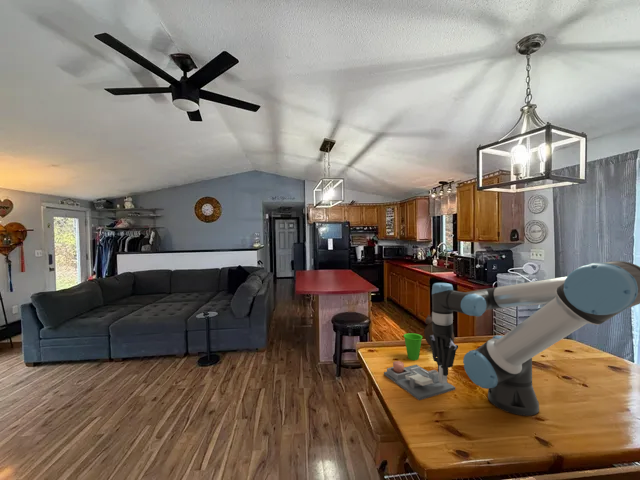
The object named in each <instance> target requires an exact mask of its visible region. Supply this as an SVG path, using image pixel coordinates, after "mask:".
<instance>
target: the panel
mask: <svg viewBox="0 0 640 480" xmlns="http://www.w3.org/2000/svg"><path fill="white" fill-rule="evenodd" d="M428 371H429V370H427V369H424V368H423V367H421V366H419V365H418V364H414V365H409V366H404V373H400V374H398V373H395V372H394V371H393V366H392V367H387V368H386V371H384V372H383V375H384V376H386V377H387V378H388V379H389V380H391V381H392V382H393V383H395V385H397V386H399V387H401V388H402V389H403V390H405V391H406V392H407V393H408V394H410V395H411V396H413V398H415V399H417V400H418V401H422V400H426V399H428V398H432V397H435V396H438V395H442V394H445V393H449V392H452V391H456V386H454V385H453V384H451V383H449V382H447V383H443V384H441V383H440V382H436V383H431V384H427V385H424V386H422V385H420V384H417V383H415V381H414V379H413V378H410V380H408V379H406V378H405V375H408V374H413V373H417V374H419V375H422V376H424V377H427V378H429V375H428Z"/></svg>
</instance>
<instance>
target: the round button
mask: <svg viewBox="0 0 640 480" xmlns="http://www.w3.org/2000/svg"><path fill="white" fill-rule="evenodd" d="M404 365H405V363H404V362H403V361H400V360H397V361H396V360H395V361H392V367H393V371H394V372H395V373H398V374H400V373H404V367H405V366H404Z"/></svg>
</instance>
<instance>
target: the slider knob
mask: <svg viewBox="0 0 640 480" xmlns="http://www.w3.org/2000/svg"><path fill="white" fill-rule="evenodd" d="M427 371H428V375H429V379H432V381H433V383H436V382H439V372H438V370H436V369H431V370H427Z"/></svg>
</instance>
